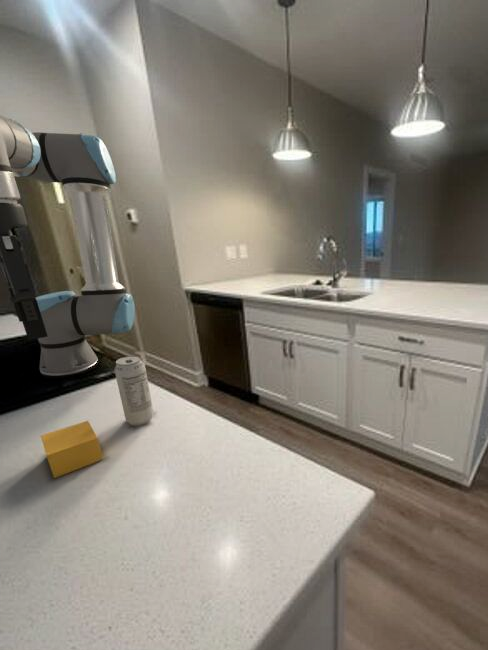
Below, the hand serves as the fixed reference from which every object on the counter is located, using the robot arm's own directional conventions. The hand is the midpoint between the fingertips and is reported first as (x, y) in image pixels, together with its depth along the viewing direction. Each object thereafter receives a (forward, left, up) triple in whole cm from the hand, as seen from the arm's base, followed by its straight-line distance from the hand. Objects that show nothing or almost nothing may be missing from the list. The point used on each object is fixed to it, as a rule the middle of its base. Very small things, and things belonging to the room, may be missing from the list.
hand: (32, 328), depth 63 cm
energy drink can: (-5, +14, -25) cm, 29 cm away
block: (+7, +4, -25) cm, 26 cm away
